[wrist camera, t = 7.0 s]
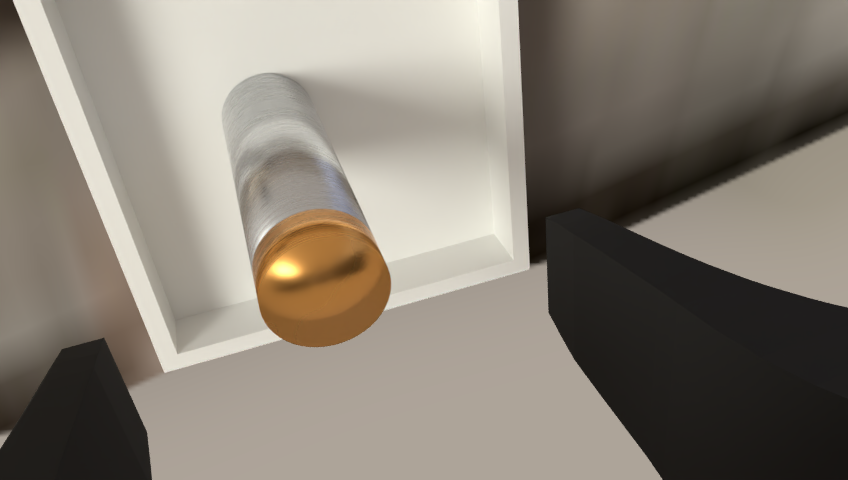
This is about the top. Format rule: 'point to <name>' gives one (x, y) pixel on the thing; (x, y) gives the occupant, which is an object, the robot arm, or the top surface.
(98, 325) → the top surface
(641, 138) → the top surface
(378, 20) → the tray
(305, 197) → the pin
